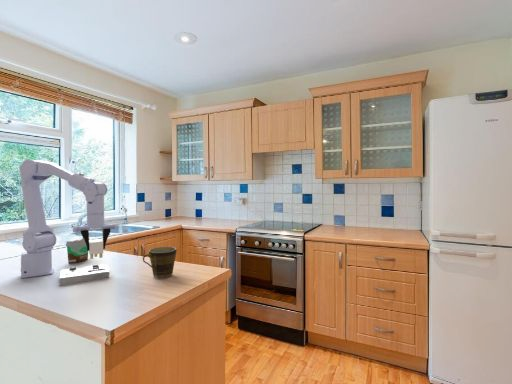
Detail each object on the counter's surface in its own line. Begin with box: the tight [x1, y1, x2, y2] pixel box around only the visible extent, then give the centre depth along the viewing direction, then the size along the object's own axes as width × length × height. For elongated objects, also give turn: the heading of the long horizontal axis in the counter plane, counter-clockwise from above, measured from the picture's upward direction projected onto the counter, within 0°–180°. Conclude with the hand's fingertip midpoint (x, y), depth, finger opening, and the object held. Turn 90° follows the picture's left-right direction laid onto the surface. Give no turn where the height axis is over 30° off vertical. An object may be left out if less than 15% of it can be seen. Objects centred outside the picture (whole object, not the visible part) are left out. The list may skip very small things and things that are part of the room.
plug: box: [88, 238, 104, 260], centre depth 108 cm, size 4×6×6 cm
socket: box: [59, 263, 110, 286], centre depth 106 cm, size 15×12×3 cm
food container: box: [65, 237, 91, 265], centre depth 131 cm, size 12×6×10 cm, turn 179°
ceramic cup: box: [142, 246, 178, 280], centre depth 106 cm, size 13×10×10 cm
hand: (96, 249), depth 108 cm, fingers closed on plug, 4 cm apart
